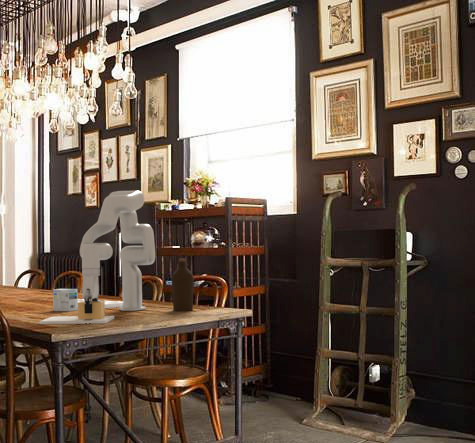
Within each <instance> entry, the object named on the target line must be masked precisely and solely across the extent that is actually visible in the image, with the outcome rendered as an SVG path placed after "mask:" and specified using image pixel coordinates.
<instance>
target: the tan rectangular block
mask: <svg viewBox="0 0 475 443" xmlns="http://www.w3.org/2000/svg"><path fill="white" fill-rule="evenodd" d="M105 301H106V300H100V301H92V303H91V304H92V313H87V314H85V305H84V302H85V301H81V302H78V310H77V316H78V319H102V318H104V317H105V316H106V314H105V312H106V311H105V310H106V309H105Z"/></svg>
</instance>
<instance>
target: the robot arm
mask: <svg viewBox="0 0 475 443" xmlns="http://www.w3.org/2000/svg"><path fill="white" fill-rule="evenodd" d="M144 204H145V194H144V192H143V191H140V190H117V191H113V192H110V193H109V195H108V196H106V197H105V198H104V199H103V203H102V206H101V210H100V213H99V216H98V218H97V219H98V220H97V222H95V223H94V224H93V225H92V226H91V227H90V228H89V229H88V230H87V231H86V232H85V234H84V235H83V237H82V240H81V243H80V246H79V247H80V248H79V255H80V258H81V270H82V271H81V276H82V295H81V296H82V298H81V299H84V300H85V302H84V305H85V314H87V313H92V304H91V303H92V301H98V300H99V295H100V293H99V292H100V285H99V276H101V262H100V261H105V260H108V259H111V257H112V256H113V251H114V250H113V247H112V246H111V244H110V243H108V242H95V241H96V240H97V239H98V238H100V237H101V236H103V235H106V234H108V233H110V232H112V231H115V229H116V226H117V223H118V220H119V223H120V224H119V225H120V226H119V227H120V234H121V240H122V242H123V243H125V244H142V245H127V246H124V247H123V248H121V250H120V251H119V257H120V264H121V272H122V273H121V274H122V275H121V278H122V281H121V284H122V302H123V307H119V310H120V311H123V312H124V311H127V312H133V311H143V310H144V311H145V310H146V306H144V305H143V280H142V278H143V275H142V272H141V270H140V268H139V267H138V266H149V265H153V264H154V263H155V261H156V245H155V234H154V229H153V228H152V226H151V225H150V224H148V223H139V220H138V215H137V210H139V209H141V208H142V207H143V206H144Z"/></svg>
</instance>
